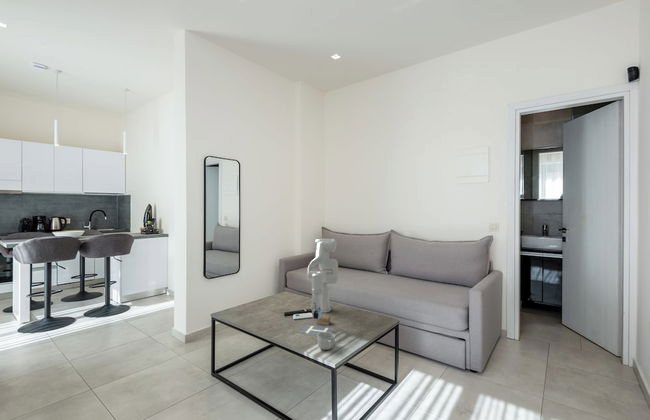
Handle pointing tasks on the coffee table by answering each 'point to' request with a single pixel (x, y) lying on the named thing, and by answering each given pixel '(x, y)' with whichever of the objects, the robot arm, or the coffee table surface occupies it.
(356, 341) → the coffee table surface
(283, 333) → the coffee table surface
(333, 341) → the teacup
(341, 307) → the coffee table surface
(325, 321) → the walnut block
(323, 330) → the letter card
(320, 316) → the blue cube
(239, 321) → the coffee table surface
